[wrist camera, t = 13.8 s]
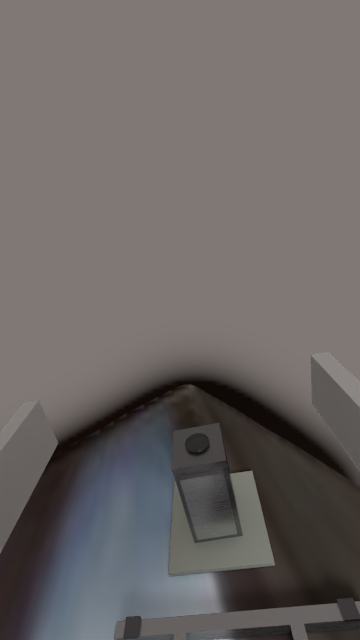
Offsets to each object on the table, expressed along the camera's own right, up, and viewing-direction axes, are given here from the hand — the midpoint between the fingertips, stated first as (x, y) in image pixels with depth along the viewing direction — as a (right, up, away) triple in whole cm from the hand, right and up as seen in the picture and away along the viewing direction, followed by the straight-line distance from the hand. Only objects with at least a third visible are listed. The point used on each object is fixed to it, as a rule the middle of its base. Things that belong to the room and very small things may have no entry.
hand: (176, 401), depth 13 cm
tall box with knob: (+4, -18, +17) cm, 25 cm away
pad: (+4, -18, +17) cm, 25 cm away
